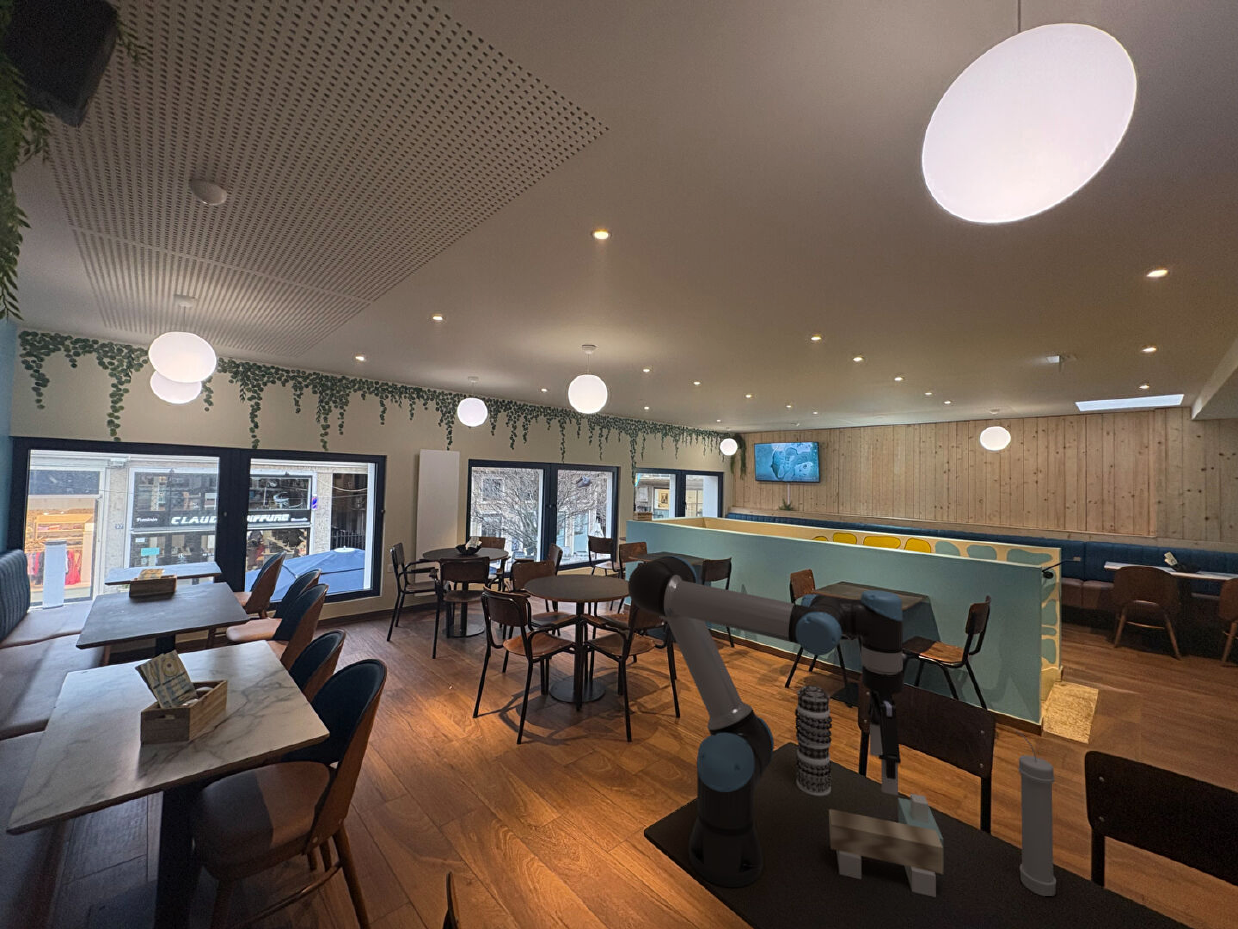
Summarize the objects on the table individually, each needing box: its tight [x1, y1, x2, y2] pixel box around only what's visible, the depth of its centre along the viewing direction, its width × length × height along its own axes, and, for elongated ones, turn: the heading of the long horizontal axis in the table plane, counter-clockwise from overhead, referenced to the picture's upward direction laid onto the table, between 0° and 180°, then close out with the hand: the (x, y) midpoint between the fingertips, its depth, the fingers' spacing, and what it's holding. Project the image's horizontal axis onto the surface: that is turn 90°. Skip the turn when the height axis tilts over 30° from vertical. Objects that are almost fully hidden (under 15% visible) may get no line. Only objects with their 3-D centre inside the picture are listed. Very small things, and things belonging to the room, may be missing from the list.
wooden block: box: [828, 808, 944, 875], centre depth 102 cm, size 20×5×5 cm, turn 71°
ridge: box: [897, 793, 945, 870], centre depth 109 cm, size 6×12×10 cm, turn 161°
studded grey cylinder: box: [794, 684, 833, 797], centre depth 130 cm, size 9×9×25 cm
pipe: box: [1015, 730, 1057, 897], centre depth 99 cm, size 6×6×30 cm
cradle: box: [835, 850, 937, 898], centre depth 101 cm, size 17×7×4 cm, turn 71°
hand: (883, 773), depth 102 cm, fingers open, 13 cm apart
